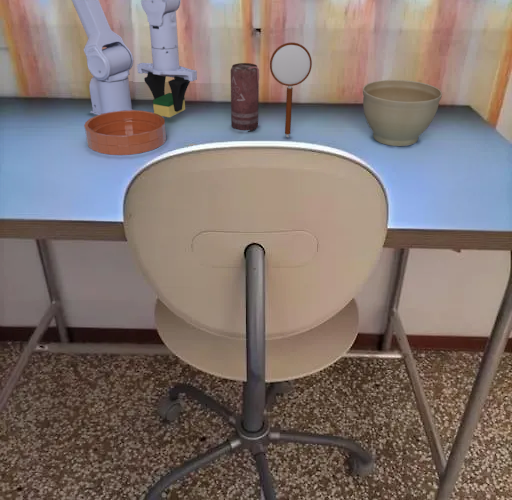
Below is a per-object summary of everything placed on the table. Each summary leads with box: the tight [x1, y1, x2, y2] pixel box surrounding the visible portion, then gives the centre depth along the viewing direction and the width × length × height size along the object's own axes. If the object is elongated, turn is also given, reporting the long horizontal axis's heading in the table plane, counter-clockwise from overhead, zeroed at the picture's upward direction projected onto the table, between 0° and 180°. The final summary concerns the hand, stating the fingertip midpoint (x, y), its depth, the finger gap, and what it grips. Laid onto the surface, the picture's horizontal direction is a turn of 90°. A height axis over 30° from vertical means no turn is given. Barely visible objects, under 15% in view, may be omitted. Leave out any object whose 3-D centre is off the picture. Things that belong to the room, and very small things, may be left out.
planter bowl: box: [362, 79, 443, 147], centre depth 116 cm, size 16×16×11 cm
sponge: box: [152, 92, 186, 118], centre depth 123 cm, size 6×4×3 cm, turn 153°
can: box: [230, 62, 260, 133], centre depth 120 cm, size 6×6×14 cm
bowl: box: [83, 109, 167, 156], centre depth 114 cm, size 16×16×4 cm
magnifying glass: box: [269, 42, 313, 139], centre depth 114 cm, size 9×2×20 cm, turn 92°
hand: (169, 108), depth 124 cm, fingers closed on sponge, 4 cm apart
